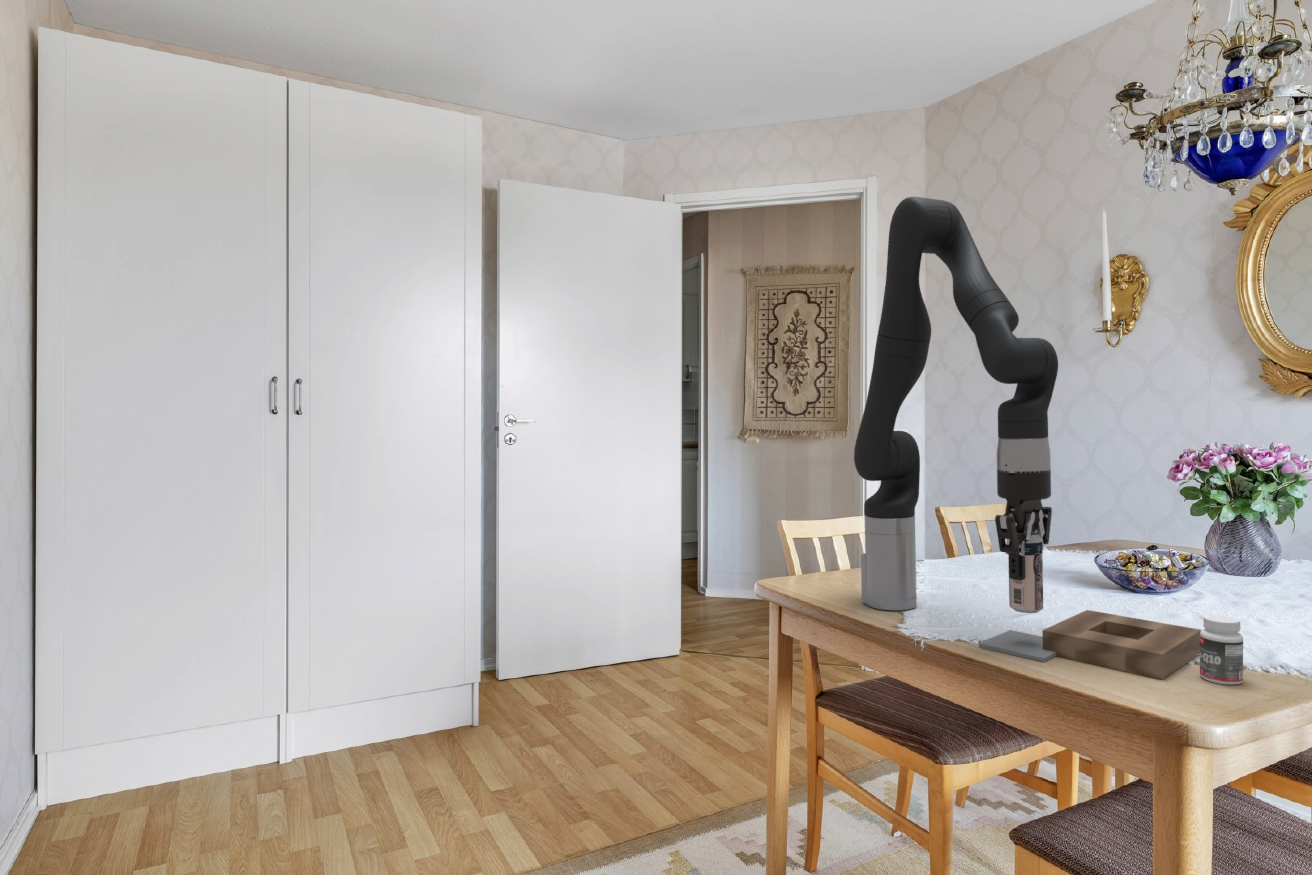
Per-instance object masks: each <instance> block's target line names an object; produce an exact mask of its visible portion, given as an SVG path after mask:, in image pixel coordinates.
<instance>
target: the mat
mask: <svg viewBox="0 0 1312 875" xmlns="http://www.w3.org/2000/svg"><path fill="white" fill-rule="evenodd" d="M978 648H982V649H987V650H989V651H990V650H991V651H994V652H999V653H1003V654H1008V655H1011V656H1014V657H1015V656H1016V657H1020V658H1024V659H1029V660H1033V661H1037V662H1042V663H1045V662H1048V661H1050V660H1051V659H1053V658H1055V657H1057V656H1056V652H1054V651H1049V650H1045V649H1043V636H1040V635H1035V634H1031V633H1026V632H1023V631H1022V632H1021V631H1017V630H1011V629H1009V630H1007V631H1005V632H1002V633H1000V634H997V635H996V636H992V637H991V638H988V639H986V640H984V641H981V642H979V643H978Z"/></svg>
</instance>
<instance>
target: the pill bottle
mask: <svg viewBox="0 0 1312 875" xmlns="http://www.w3.org/2000/svg"><path fill="white" fill-rule="evenodd" d="M1241 629H1242V628H1241V620H1240V619H1239V618H1237V617H1234V616H1228V615H1224V614H1223V615H1222V614H1206V615H1205V616H1203V628H1202V629H1200V630H1201V632H1200V654H1199V676H1200V677H1201V678H1203V680H1206V681H1208V682H1211V683H1215V684H1220V685H1229V686H1231V685H1234V686H1235V685H1240V684H1242V683H1243V681H1244V637H1243V634H1241V633H1240V631H1241Z"/></svg>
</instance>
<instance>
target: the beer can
mask: <svg viewBox="0 0 1312 875" xmlns="http://www.w3.org/2000/svg"><path fill="white" fill-rule="evenodd" d="M1033 533H1034V532H1031V536H1030V540H1029V541H1028V542H1026V547H1025V554H1024V556H1025V579H1024V580H1014V579H1011V578H1010V577H1009V576H1008V601H1009V602H1008V604H1009V608H1011V609H1012V610H1014V611H1015V612H1019V613H1022V614H1034V613H1035V614H1037V613H1039V612H1040V611H1042V610H1043V609H1044V566H1043V565H1044V564H1043V560H1044V558H1043V556H1044V555H1043V554H1044V553H1043V550H1042V539H1041V537H1040V536H1039V534H1038V533H1035V534H1033ZM1017 535H1022V534H1021V533H1017ZM1019 542H1020V541H1019V540H1018V545H1019ZM1007 556H1008V562H1009V555H1008V554H1007Z"/></svg>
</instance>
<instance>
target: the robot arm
mask: <svg viewBox="0 0 1312 875" xmlns="http://www.w3.org/2000/svg"><path fill="white" fill-rule="evenodd" d="M891 217H892V218H891V220H890V225H889V232H888V243H887V258H886V259H887V260H886V272H885V273H886V274H885V276H886V277H885V286H884V294H883V300H882V307H881V314H880V321H879V325H878V330H877V335H876V340H875V341H876V343H875V349H874V354H873V355H874V356H873V364H872V370H871V375H870V380H869V387H868V392H867V397H866V401H865V406H864V410H863V414H862V416H861V421H860V423H859V424H860V425H859V428H858V432H857V435H856V439H855V445H854V451H853V452H854V453H853V459H854V460H853V461H854V467H855V470H856V472H857V473H858V475H859V476H860V477H861V478H862V479H864V480H866V481H869V482H879V481H880V485H879V488H878V489H877V491H875V493H874V494H872V495H871V496H870V497H868V498H867V499H866V500H865V501H864V504H863V510H864V512H863V514H864V553H861V555H860V576H861V577H860V578H861V581H860V582H861V603H862V604H865V605H867V606H868V607H871V608H873V609H877V610H885V611H907V610H912V609H915V608H916V607H917V605H918V604H917V597H918V595H917V560H916V559H917V555H916V553H917V552H916V549H917V548H916V546H917V545H916V506H917V504H918V501H919V496H920V473H921V456H920V450H919V446H918V443H917V441H916V439H915V438H914V436H913V435H911V433H910V432H907V431H904V430H895V424H896V421H897V417H898V414H899V411H900V409H901V407H902V404H903V403H904V402H905V400H906V398H907V397H908V395H909V394H910V393H911V391H912V390H913V388H914V386H915V385H916V383H917V382H918V380H919V379H920V377H921V376H922V373H923V372H924V369H925V367H926V365H927V359H928V354H929V348H930V342H931V339H932V338H931V337H932V324H931V319H930V316H929V313H928V309H927V307H926V304H925V301H924V298H923V294H922V291H921V287H920V272H921V271H920V270H921V263H922V262H921V261H922V256H923V254H931V255H932V254H934V255H935V256H936V257H938V258H939V259H940V260H941V262H943V264H944V265H945V266H946V268H948V270H949V273H950V274H951V278H952V295H953V300H954V303H955V307H956V308H957V309H956V310H958V312H959V314H960V315H961V317H962V318H963V320H964V321H965V323H966V325H967V326H968V328H969V329H970V330H971V331H972V333H973V334H974V337H975V341H976V345H977V349H978V351H979V356H980V358H981V362H982V365H983V367H984V369H985V371H986V372H987V373H988V374H989V375H990V377H991V378H992V379H994V380H995V381H996V382H999V383H1000V384H1005V385H1015V384H1016V386H1015V387H1016V388H1015V391H1014V395H1013V397H1012V398H1011V399H1008V400H1005V401H1003V402H1002V403H1000V405H999V406H998V408H997V437H998V438H997V447H996V484H997V486H996V489H997V496H998V497H999V498H1001V499H1005V500H1006V505H1005V513H1003V514H996V515H995V518H994V521H995V527H996V533H997V540H998V547H999V552H1001V553H1004V554H1006V555H1007V556H1008V555H1009V561H1008V578H1009V577H1010V578H1011V579H1014V580H1024V579H1025V556H1024V554H1025V547H1026V542H1028V541H1029V540H1030V536H1031V532H1034V533H1033V534H1035V533H1038V534H1039V536H1040V537H1041V539H1042V551H1044V547H1045V545H1049V542H1050V536H1051V535H1050V533H1051V523H1052V513H1053V510H1052V509H1053V508H1052V507H1051V506H1043V503H1042V500H1047V499H1049V498H1051V496H1052V479H1051V477H1052V475H1051V474H1052V472H1051V466H1052V464H1051V447H1050V442H1049V416H1048V410H1049V407H1050V405H1051V404H1050V403H1051V401H1052V397H1053V393H1054V389H1055V385H1056V380H1057V377H1058V371H1059V359H1058V358H1059V357H1058V354H1057V351H1056V349H1055V347H1054V346H1053V344H1052V343H1051V342H1049V341H1048V340H1047V339H1044V338H1040V337H1017V336H1016V335H1015V334H1014V333H1013V332H1014V331H1015V330H1016V329H1017V328H1018V325H1019V322H1020V317H1019V314H1018V312H1017V310H1016V309H1015V306H1014V305H1013V304H1012V303H1011V301H1010V300H1009V298H1008V297H1007V295H1006V294H1005V293H1004V292H1003V290H1002V289H1001V288H1000V286H999V285H998V283H997V282H996V281H995V279H994V278H993V276H992V275H991V273H990V271H989V270H988V268H987V266H986V264H985V262H984V260H983V258H982V255H981V253H980V251H979V249H978V248H977V246H976V243H975V241H974V238H973V237H972V234H971V232H970V230H969V228H968V225H967V223H966V221H965V219H964V217H963V215H962V213H961V212H960V210H959V208H958V207H957V206H956V205H955V204H953V203H952V202H949V201H947V200H944V199H943V200H942V199H937V198H935V199H934V198H927V197H921V196H907V197H905V198H904V199H902V200H901V201H900V202H899V203H898V204H897V206H896V208H895V210H894V211H893V214H892V216H891ZM1017 533H1021V534H1022V535H1017ZM1018 540H1019V541H1020V542H1019V545H1018Z"/></svg>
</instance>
